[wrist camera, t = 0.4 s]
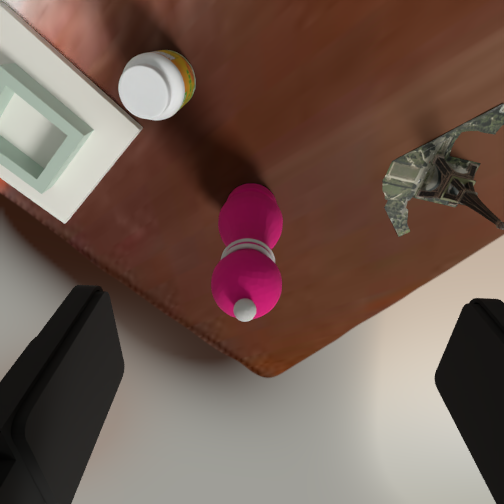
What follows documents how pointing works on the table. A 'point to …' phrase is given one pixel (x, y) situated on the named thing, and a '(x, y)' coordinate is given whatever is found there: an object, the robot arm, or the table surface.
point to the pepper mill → (248, 253)
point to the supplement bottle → (156, 84)
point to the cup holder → (53, 122)
